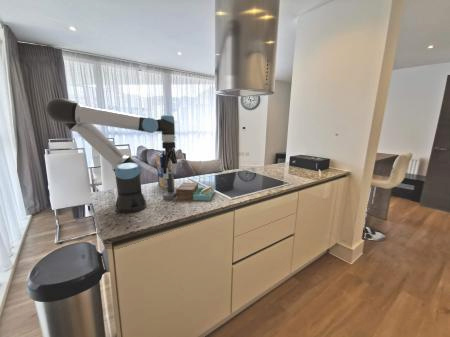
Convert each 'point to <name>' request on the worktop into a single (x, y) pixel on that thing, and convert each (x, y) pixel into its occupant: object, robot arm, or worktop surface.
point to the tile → (206, 190)
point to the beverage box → (162, 181)
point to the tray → (199, 196)
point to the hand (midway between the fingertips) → (170, 176)
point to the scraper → (170, 187)
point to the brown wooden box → (186, 191)
